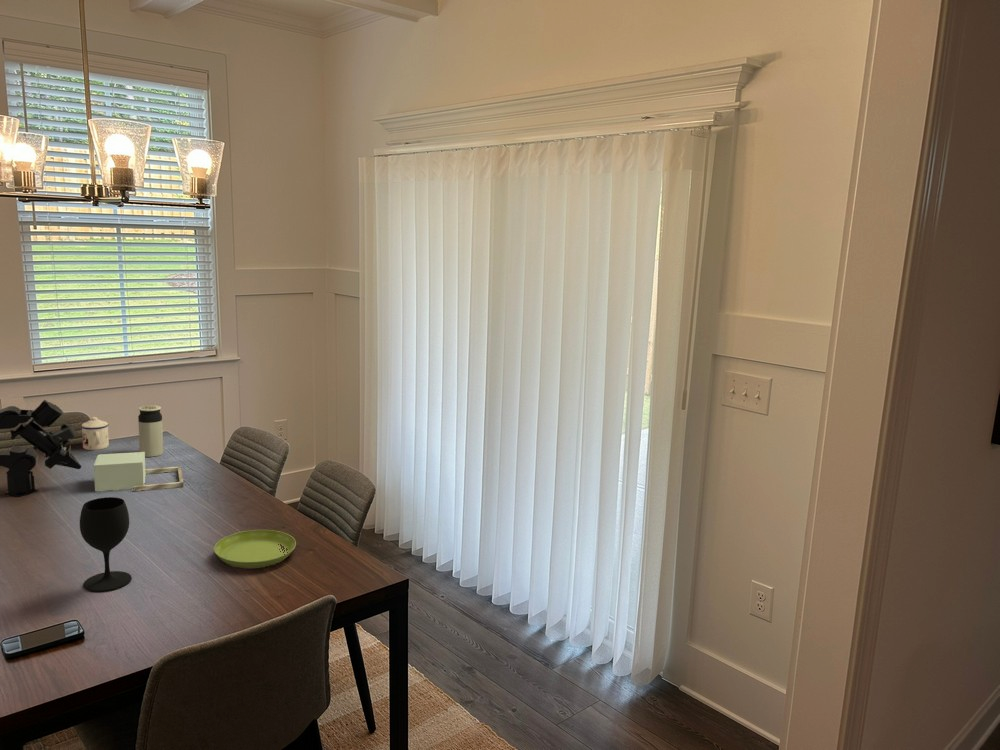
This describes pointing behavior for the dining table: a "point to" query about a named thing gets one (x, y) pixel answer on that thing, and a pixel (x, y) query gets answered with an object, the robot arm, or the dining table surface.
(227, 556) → the saucer
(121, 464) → the sage box
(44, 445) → the robot arm
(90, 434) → the teacup with lid
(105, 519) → the wine glass
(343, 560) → the dining table surface
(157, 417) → the travel mug
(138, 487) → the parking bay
